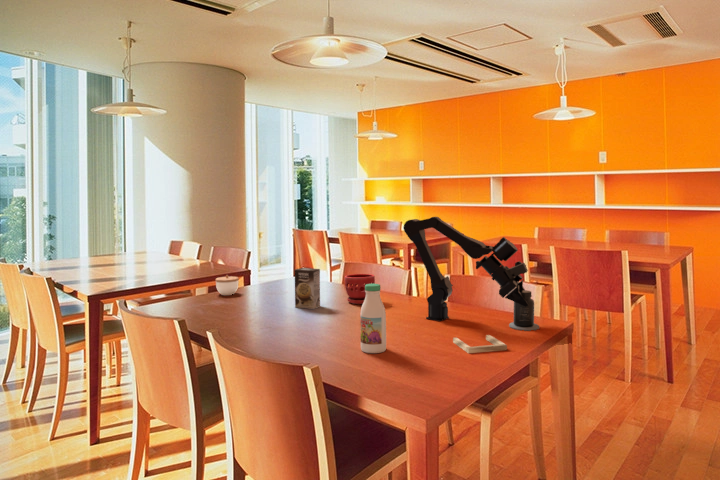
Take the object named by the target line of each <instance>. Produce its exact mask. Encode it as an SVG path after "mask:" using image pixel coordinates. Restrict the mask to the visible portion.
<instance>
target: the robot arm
mask: <svg viewBox="0 0 720 480" xmlns="http://www.w3.org/2000/svg"><path fill="white" fill-rule="evenodd" d="M402 227H403V231H404V233H405V234H406V236H407V237H408V239H409V240H410V241H411V242H412V243H413V244H414V246H415V248H416V250H417V252H418V254H419V256H420V259H421V261H422V262H423V263H422V264H423V265H424V268H425V270H426V272H427V275H428V277H429V279H430V288H431V292H432V293H431V294H430V296H428V297H427V298H426V300H427V305H428V307H427V309H428V310H427V313H428V316H426V317H425V319H427V320H431V321H437V322H442V321H445V320H448V319H449V318H450V316H449V307H448V302H446V301H447V300H448V298H449V297H450V296H452V294H453V286H454V284H452V282H451V281H450V277H449V275H448V276H444V275H443V274H442V272H441V271H440V268H439V266H438V264H437V261H436V259H435V257H434V254H433V252H432V250H431V248H430V246H429V244H428V242H427V237H426V230H427V229H431V228H432V229H434V230H436V231H437V232H439V233H441V234H442V235H443V236H445V238H448V239H450V240H451V241H452V242H454V243H455V244H457V245H459V247H460V248H461V249H462V250H463V251H464V252H465V254H467V256H468V257H470V258H471V259H474V260H476V261H475V269H476V270H478V269H480V268H481V267H482V268H483V269H484V270H485V271H486V272H487V274H489V276H490V277H491V280H492V281H496V283H497V284H498V285H499V288H500V289H498V295H499V296H500V297H502V298H503V299H506V300H509V301H512V302H513V303H514V302H516V303H519V304H521V305H523V306H525V307H526V306H528V303H527V302H526V300H525V299H524V297H523V296H522V295H521V293H520V292H519V290H526V289H525V287H524V278H523V276H522V275H524V274H526V273H528V271H529V270H528V268H527V264H525V262H521V261H520V260H519V261H516V262H515V263H514V266H512V267H509V266H507V265H503V263H502V262H503V261H504V262H507V261H508V260H509V259H510V258H511V257H512V256H514V255H515V254H516V253H517V252H518V251H519V250H518V248H517V246H516V245H515V244H514V243H513V242H511V240H508V239H507V238H506V237H505V236H503V237H502V238H500V239H499V241H498V242H497V243H496V244H494V246H492V245H487V244H485V243H484V242H482V241H480V240H478V239H475V238H472V237H470V236H467V235H466V234H464V233H462V232H461V231H460V230H458V229H456V228H454V227H453V226H451V224H448V223H447V222H446V221H444V220H443V219H441V218H440V217H438V216H432V217H430V218H424V219H421V220H420V219H418V218H414V219H413V218H412V219H408V220H406V221H405V222H404V224H403V226H402ZM489 254H490V255H489ZM487 255H489V256H487ZM482 257H483V258H482ZM480 258H481V260H477V259H480Z"/></svg>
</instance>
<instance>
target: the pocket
mask: <svg viewBox="0 0 720 480" xmlns="http://www.w3.org/2000/svg"><path fill="white" fill-rule="evenodd" d="M485 340H486V341H487V342H489V343H490V344H489V345H478V346H477V345H476V346H470V345H468V343H465V342H464V341H463V340H461V339H460V338H458V337H452V343H453V344H454V345H456V346H458V347H459V349H462V350H463V351H464V352H466V353H467V354H479V353H488V352H499V351H508V345H507V344H505V343H504V342H503V341H501V340H500V339H498V338H496V337H495V336H492V335H490V334H486V335H485Z"/></svg>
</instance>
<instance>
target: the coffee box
mask: <svg viewBox="0 0 720 480" xmlns="http://www.w3.org/2000/svg"><path fill="white" fill-rule="evenodd" d="M294 305H295V306H294V307H295V308H300V309H308V310H309V309H310V310H311V309H312V310H314V309H316V308H318V307H321V269H320V268H310V267H309V268H307V267H300V268H296V269H294Z"/></svg>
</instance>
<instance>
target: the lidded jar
mask: <svg viewBox="0 0 720 480" xmlns="http://www.w3.org/2000/svg"><path fill="white" fill-rule="evenodd" d="M215 287H216V290H217V292H218V293H219V294H220V295H221V296H232V294H233V295H235V293H236V292H237V290H238V288H239V277H238V276H232V275H231V276H229V274H226V275H225V276H220V277H219V276H218V277H217V278H215Z"/></svg>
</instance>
